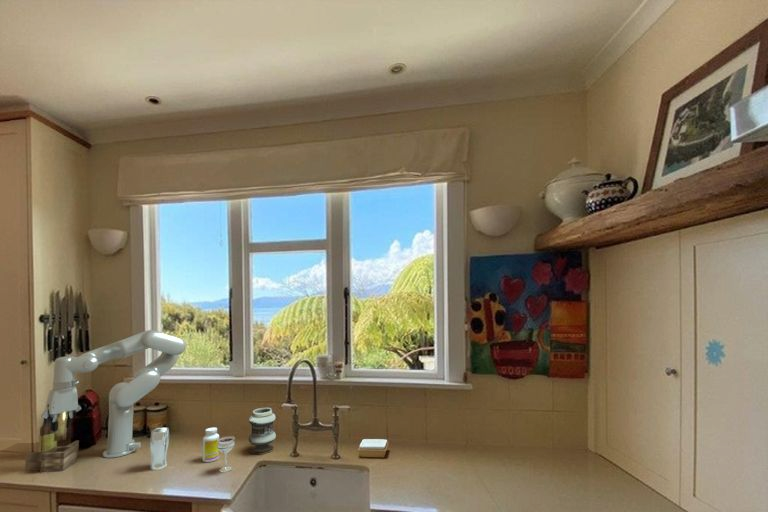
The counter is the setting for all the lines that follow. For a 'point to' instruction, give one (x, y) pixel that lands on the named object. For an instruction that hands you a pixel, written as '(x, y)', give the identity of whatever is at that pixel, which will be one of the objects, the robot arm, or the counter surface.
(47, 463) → the wooden crate
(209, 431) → the supplement bottle
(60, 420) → the brass pin
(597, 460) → the counter surface
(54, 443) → the sauce bottle
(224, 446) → the wineglass
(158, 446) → the beer glass
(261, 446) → the apothecary jar
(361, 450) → the soap dish
